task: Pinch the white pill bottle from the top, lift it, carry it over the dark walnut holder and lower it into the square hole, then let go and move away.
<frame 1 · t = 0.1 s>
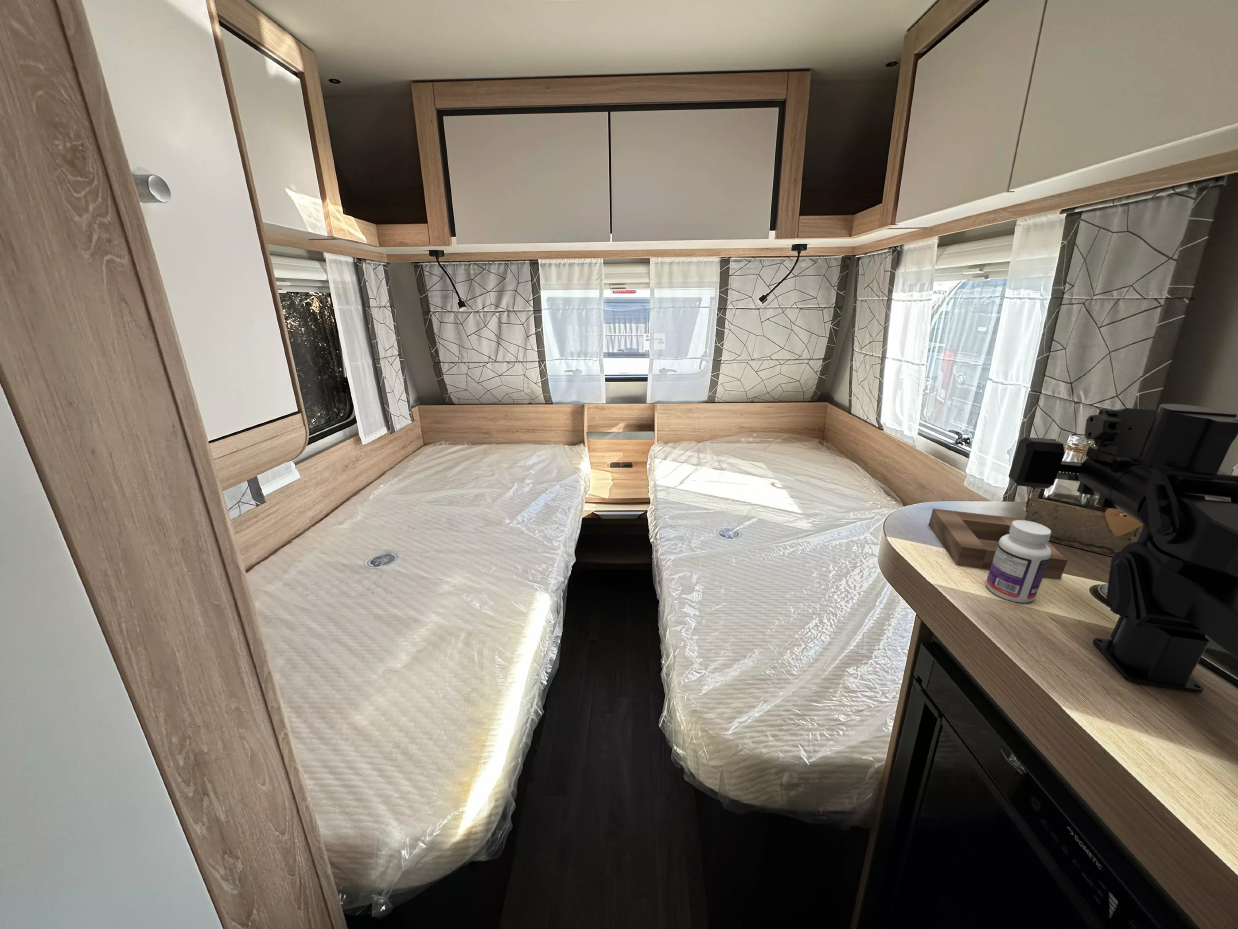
hand: (1064, 448, 72), 17 cm above the counter, tool horizontal, fingers open, 9 cm apart
pill bottle: (1008, 593, 68), on the counter
walnut holder: (988, 549, 78), on the counter
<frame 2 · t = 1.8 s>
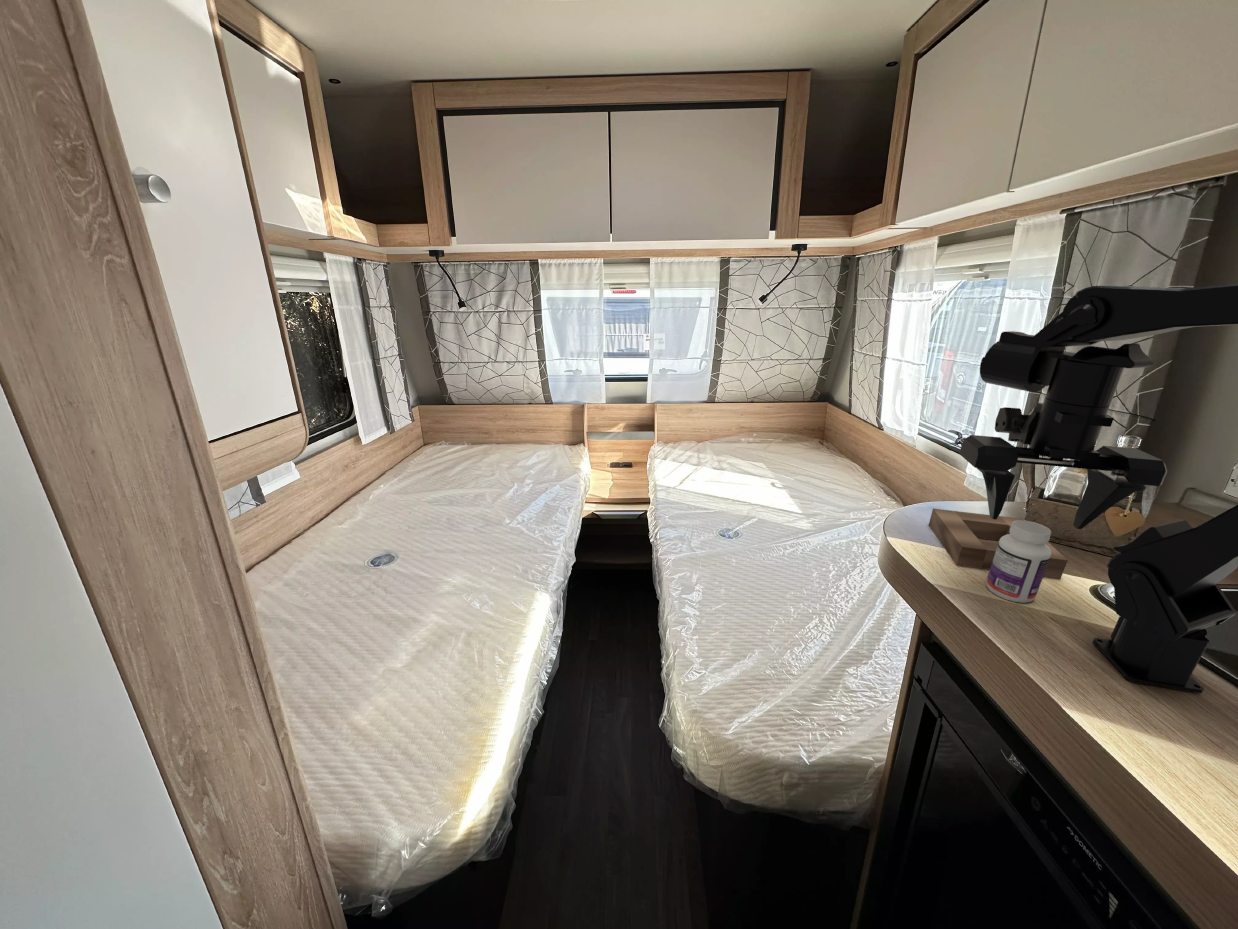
hand: (1034, 522, 64), 10 cm above the counter, tool pointing down, fingers open, 9 cm apart
nothing on the counter moved.
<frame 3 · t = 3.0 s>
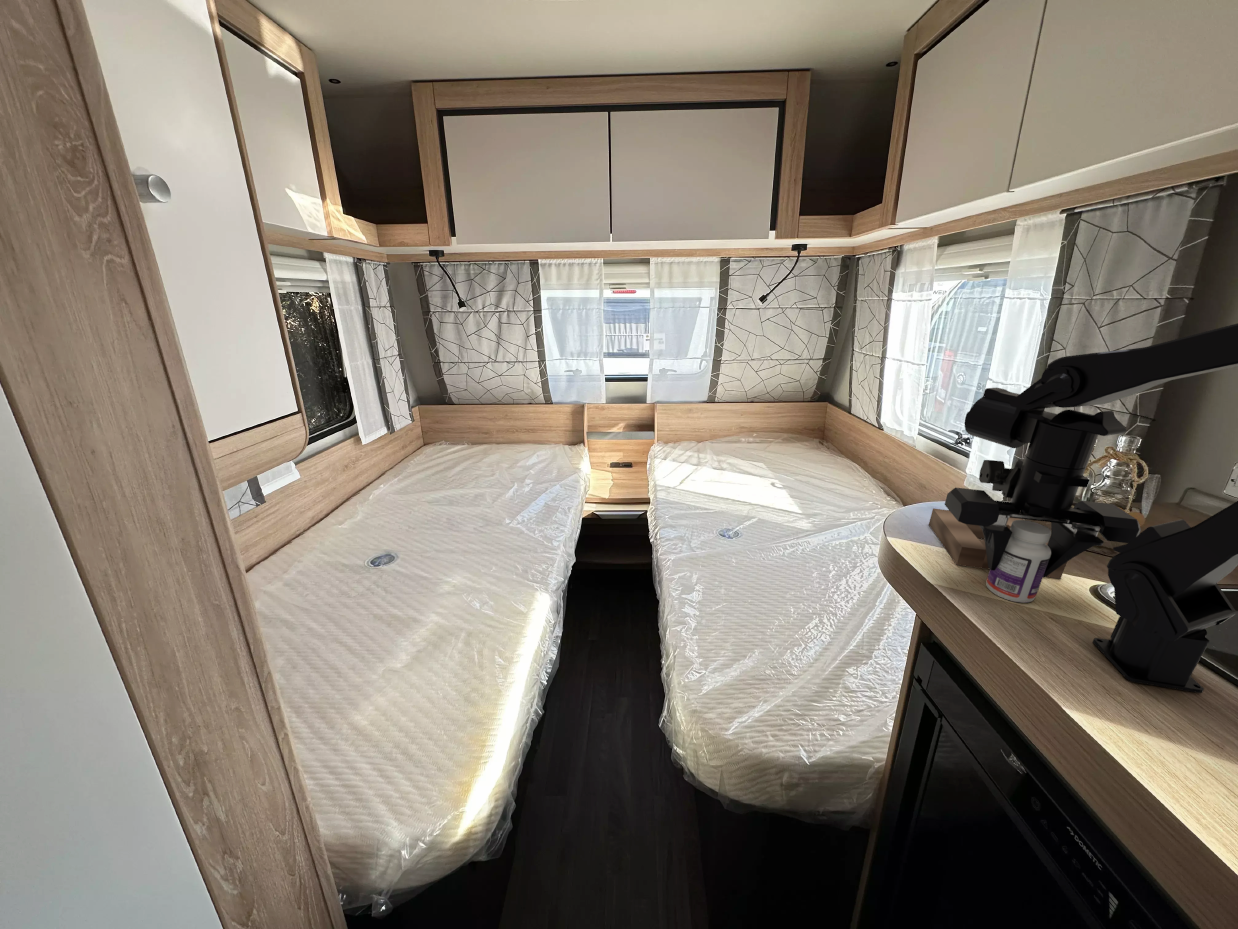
hand: (1015, 572, 66), 3 cm above the counter, tool pointing down, fingers closed on pill bottle, 5 cm apart
pill bottle: (1008, 592, 68), on the counter, touching gripper
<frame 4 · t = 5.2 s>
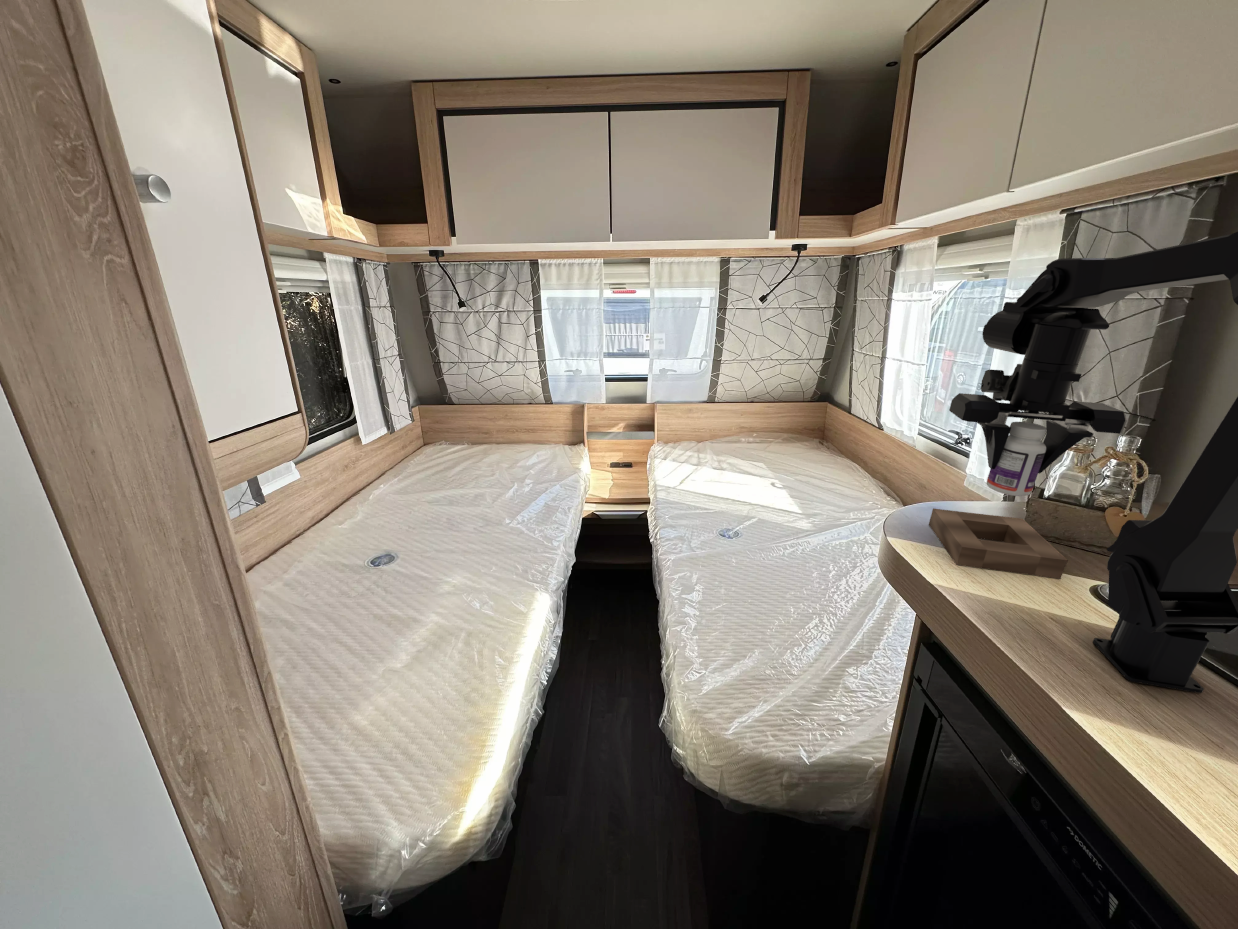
hand: (1013, 470, 73), 13 cm above the counter, tool pointing down, fingers closed on pill bottle, 5 cm apart
pill bottle: (1007, 490, 74), point 10 cm above the counter, touching gripper
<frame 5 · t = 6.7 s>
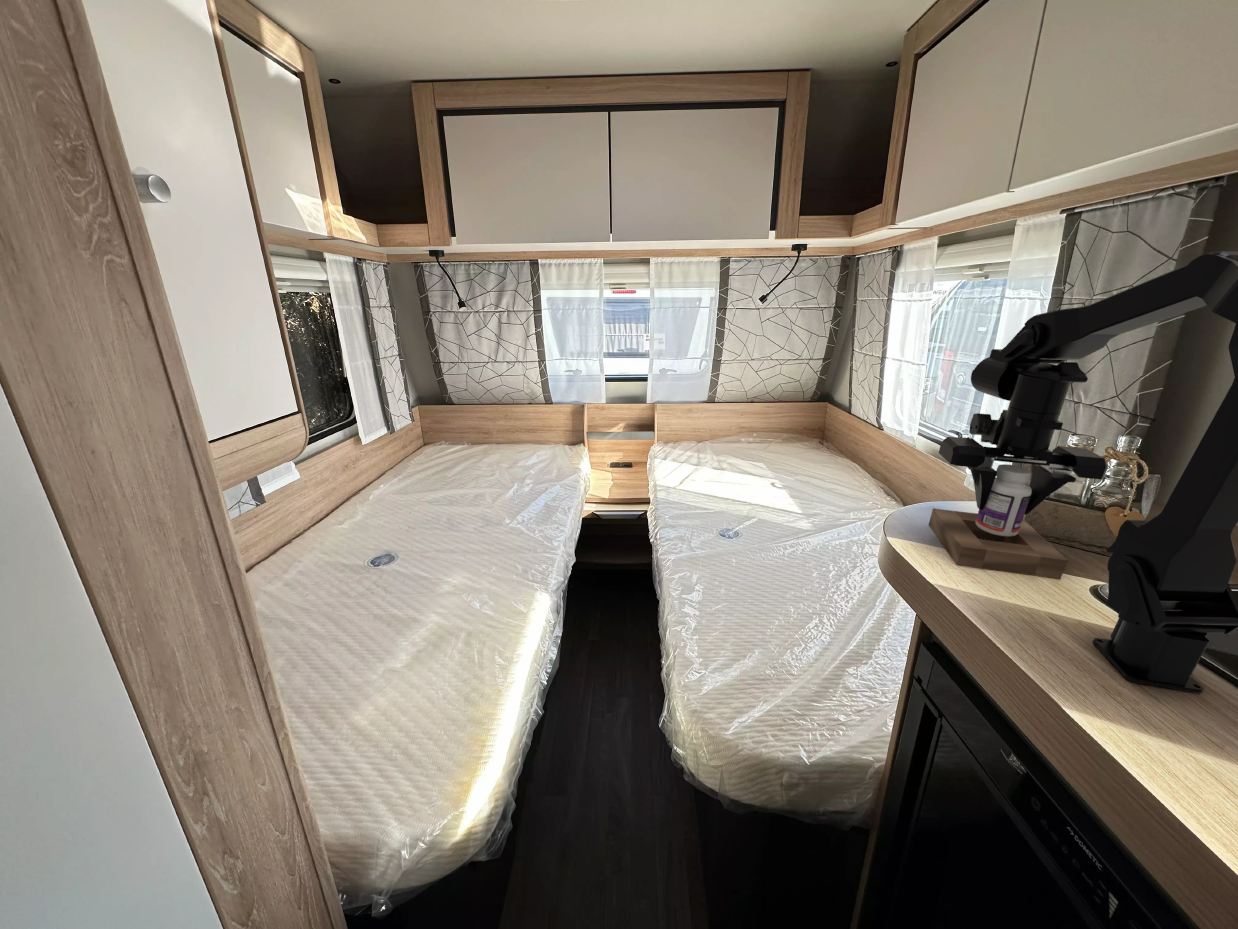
hand: (1001, 511, 76), 7 cm above the counter, tool pointing down, fingers closed on pill bottle, 5 cm apart
pill bottle: (995, 530, 77), point 3 cm above the counter, touching gripper
when the fingers open (4 cm above the counter, at t = 7.7 s): pill bottle drops 1 cm, resting in walnut holder.
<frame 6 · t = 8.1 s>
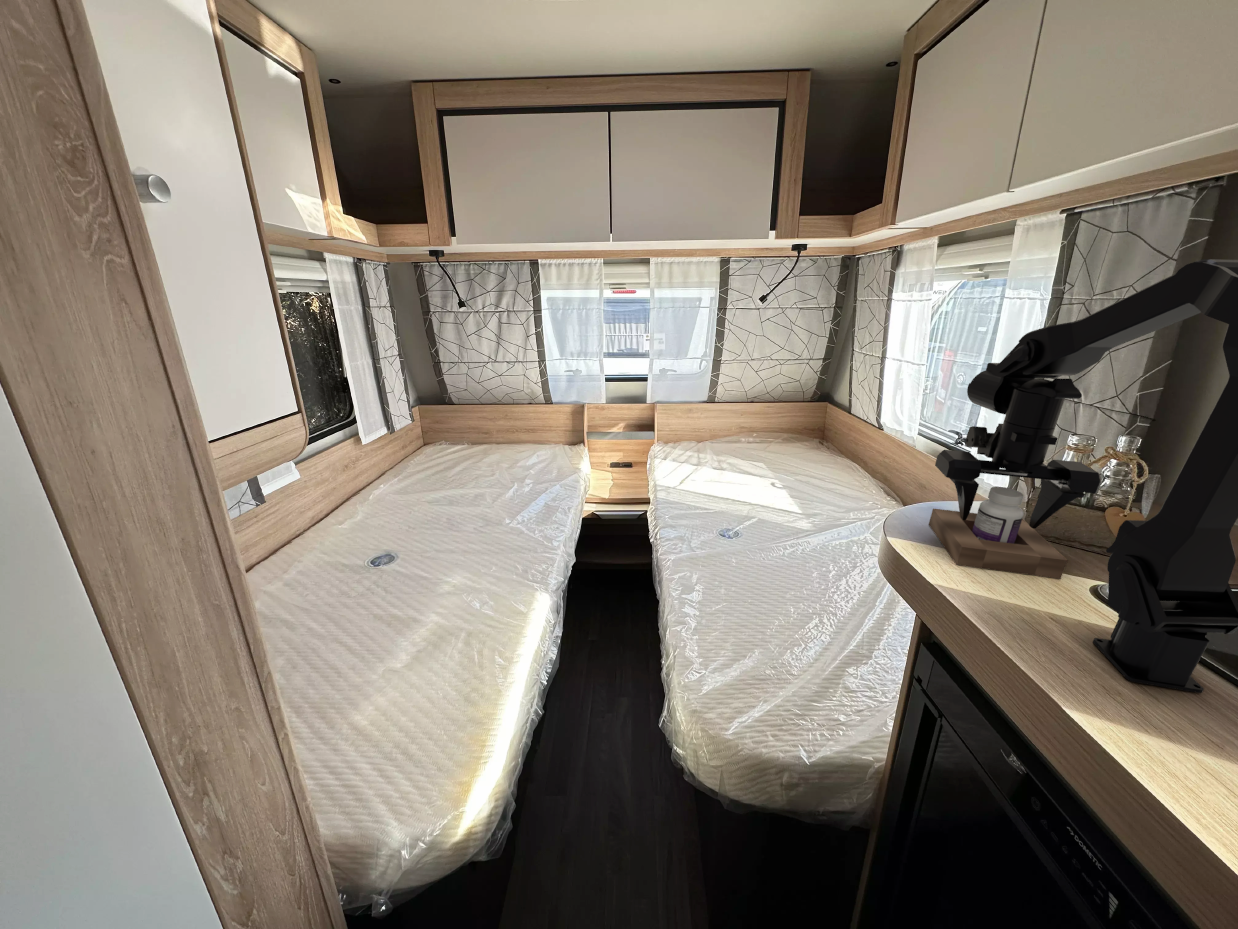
hand: (996, 523, 76), 4 cm above the counter, tool pointing down, fingers open, 9 cm apart
pill bottle: (988, 550, 78), resting in walnut holder
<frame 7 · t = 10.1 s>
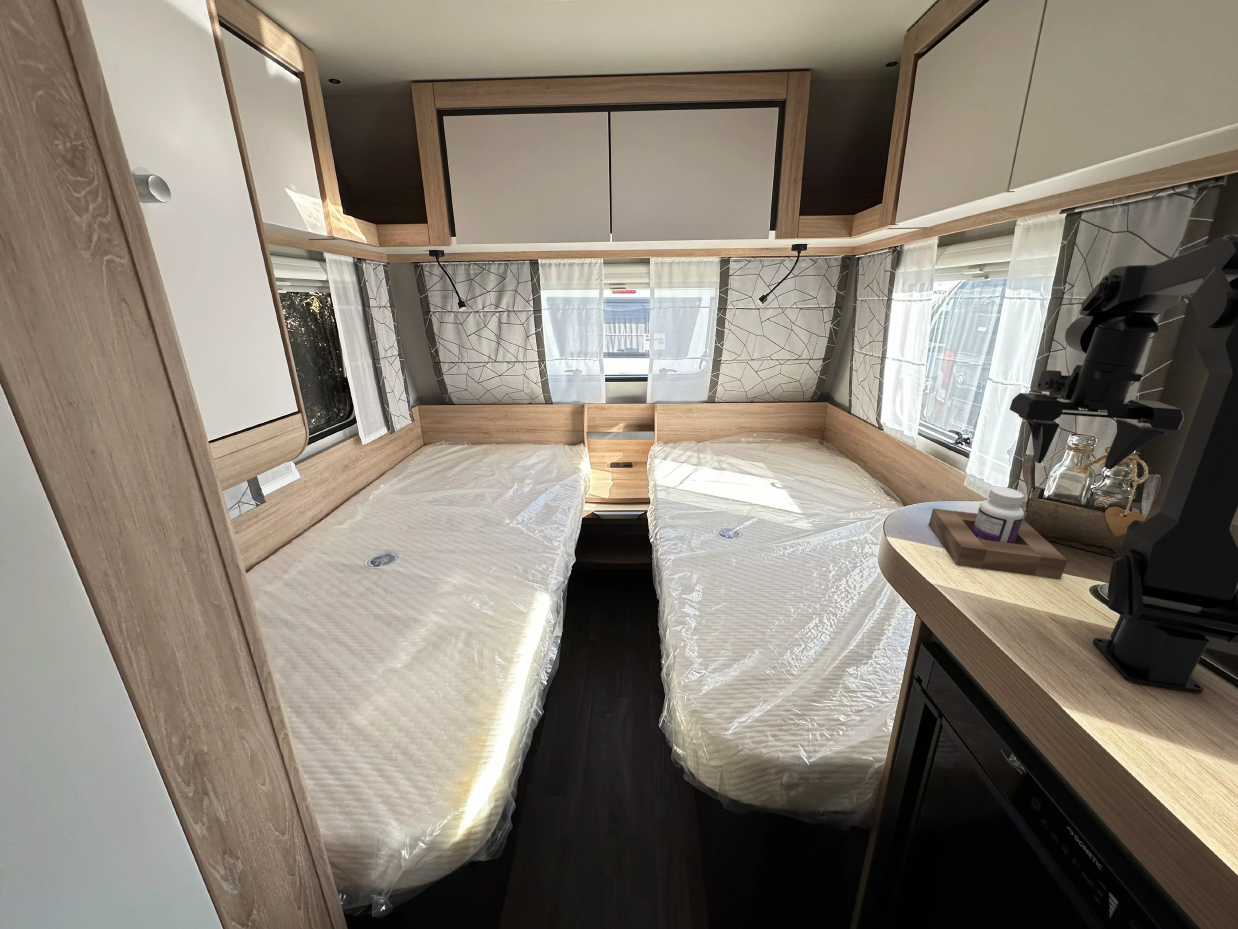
hand: (1072, 465, 77), 13 cm above the counter, tool pointing down, fingers open, 9 cm apart
nothing on the counter moved.
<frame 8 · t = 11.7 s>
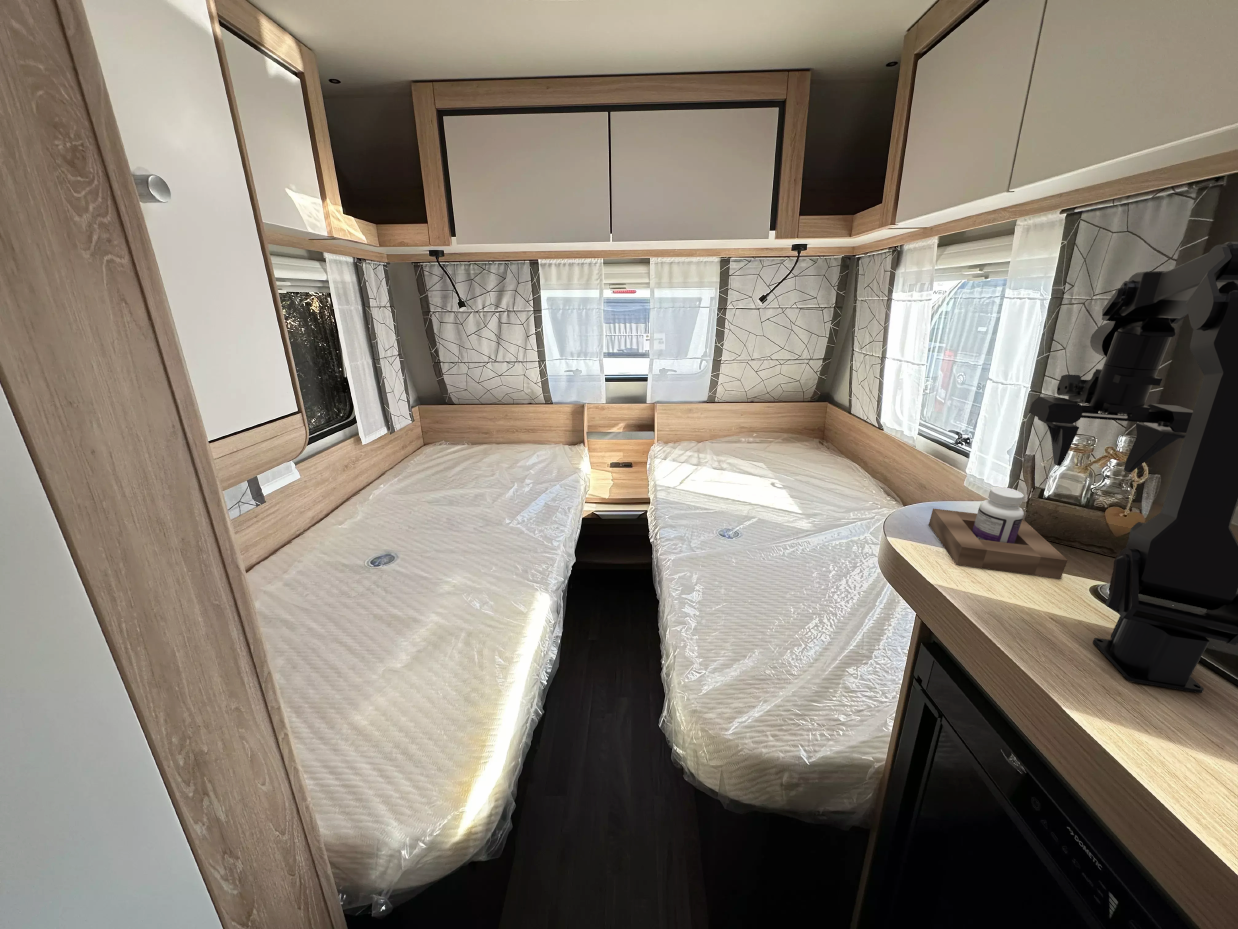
hand: (1091, 468, 78), 12 cm above the counter, tool pointing down, fingers open, 9 cm apart
nothing on the counter moved.
at the end: pill bottle 0.1 cm off-centre on the walnut holder, point 0.0 cm above the walnut holder's base; pill bottle tilted 0°; the gripper is holding nothing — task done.
